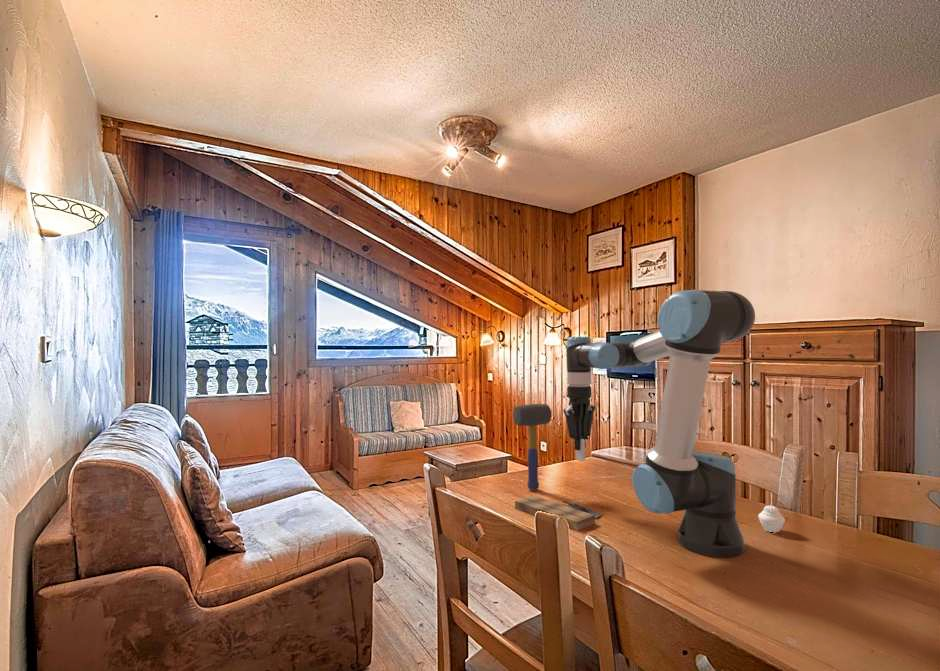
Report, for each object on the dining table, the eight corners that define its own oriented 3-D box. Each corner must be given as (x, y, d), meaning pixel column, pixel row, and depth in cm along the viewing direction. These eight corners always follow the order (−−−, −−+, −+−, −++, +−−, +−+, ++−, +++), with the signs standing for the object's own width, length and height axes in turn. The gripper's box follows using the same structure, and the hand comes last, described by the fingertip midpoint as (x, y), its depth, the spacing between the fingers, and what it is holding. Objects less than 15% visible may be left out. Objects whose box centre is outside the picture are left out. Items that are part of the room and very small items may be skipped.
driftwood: (605, 518, 146) (605, 511, 146) (589, 523, 143) (589, 516, 143) (557, 500, 164) (557, 494, 164) (541, 504, 160) (541, 498, 160)
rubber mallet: (522, 495, 167) (521, 406, 167) (512, 489, 174) (511, 403, 174) (554, 490, 171) (553, 404, 171) (543, 484, 178) (542, 401, 178)
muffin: (755, 531, 134) (755, 505, 134) (762, 525, 138) (761, 500, 138) (782, 537, 130) (781, 511, 130) (787, 531, 134) (787, 505, 134)
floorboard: (594, 523, 141) (594, 514, 141) (577, 530, 136) (577, 521, 136) (532, 502, 159) (532, 495, 159) (515, 508, 154) (514, 500, 154)
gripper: (583, 383, 163) (584, 454, 163) (556, 385, 155) (557, 461, 155) (601, 384, 157) (602, 458, 157) (574, 387, 149) (576, 465, 149)
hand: (580, 459), depth 156 cm, fingers closed
